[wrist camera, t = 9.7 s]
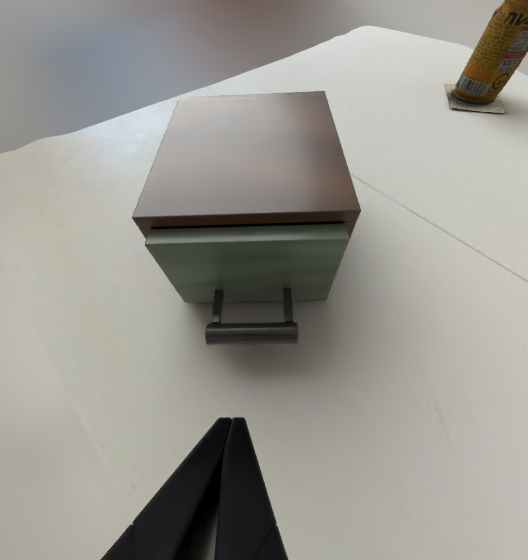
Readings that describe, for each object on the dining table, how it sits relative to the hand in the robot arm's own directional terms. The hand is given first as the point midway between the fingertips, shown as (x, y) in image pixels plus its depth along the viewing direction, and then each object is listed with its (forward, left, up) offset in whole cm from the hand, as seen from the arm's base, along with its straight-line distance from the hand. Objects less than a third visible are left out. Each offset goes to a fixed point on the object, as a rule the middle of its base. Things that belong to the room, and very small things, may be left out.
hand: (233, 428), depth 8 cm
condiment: (+54, +10, -9) cm, 55 cm away
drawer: (+9, +10, -8) cm, 16 cm away
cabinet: (+12, +13, -9) cm, 20 cm away
